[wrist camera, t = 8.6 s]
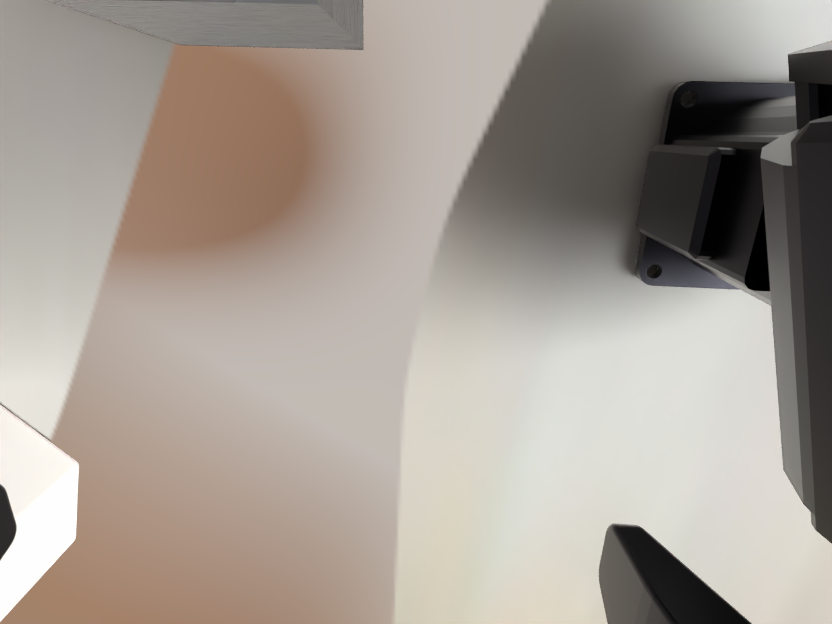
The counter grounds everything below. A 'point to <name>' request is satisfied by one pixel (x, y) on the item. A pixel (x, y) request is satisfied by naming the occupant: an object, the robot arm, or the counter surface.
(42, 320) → the counter surface
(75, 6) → the gray rectangular block
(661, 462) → the counter surface
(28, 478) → the jar
